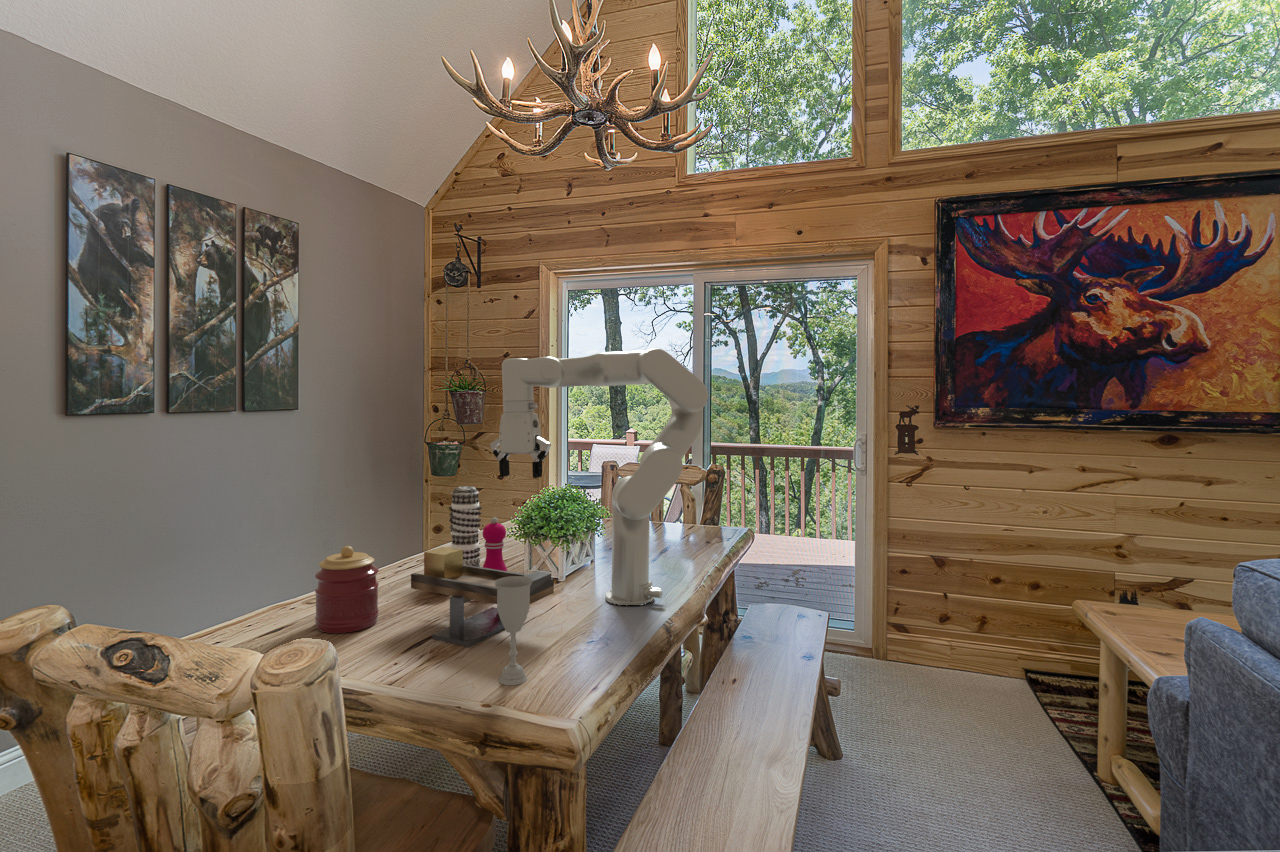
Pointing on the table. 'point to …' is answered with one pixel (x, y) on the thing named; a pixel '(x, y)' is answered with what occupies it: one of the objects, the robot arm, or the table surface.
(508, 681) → the chalice
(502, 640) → the table surface
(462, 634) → the stand
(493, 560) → the pepper mill
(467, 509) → the decorative candle
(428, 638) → the table surface
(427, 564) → the block
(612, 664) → the table surface
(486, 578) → the beam
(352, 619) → the canister
